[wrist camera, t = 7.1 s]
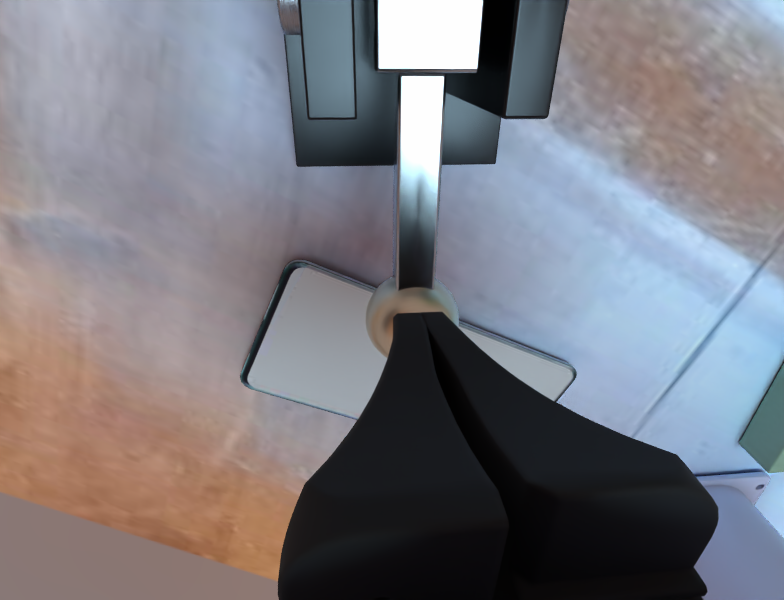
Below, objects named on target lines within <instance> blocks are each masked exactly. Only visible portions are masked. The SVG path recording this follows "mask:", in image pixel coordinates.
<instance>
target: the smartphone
mask: <svg viewBox="0 0 784 600" xmlns="http://www.w3.org/2000/svg"><path fill="white" fill-rule="evenodd" d="M376 289H377V288H375V287H372V286H370V285H367V284H365V283H362V282H360V281H357V280H354V279H352V278H349V277H347V276H344V275H342V274H339V273H337V272H334V271H331V270H329V269H326V268H324V267H321V266H319V265H316V264H314V263H311V262H309V261H305V260H294V261H292V262H290V263H289V264H287V265H286V267H285V268H284V270H283V273H282V275H281V278H280V280H279V283H278V285H277V287H276V290H275V292H274V295H273V297H272V299H271V301H270V304H269V307H268V309H267V311H266V314H265V316H264V319H263V321H262V324H261V326H260V328H259V331H258V333H257V335H256V338H255V340H254V343H253V345H252V348H251V350H250V352H249V355H248V357H247V360H246V362H245V365H244V367H243V369H242V372H241V375H240V379H241V382H242V383H243V384H244V385H245V386H246V387H248V388H250V389H253V390H256V391H260V392H263V393H267V394H270V395H273V396H277V397H280V398H284V399H287V400H291V401H294V402H297V403H301V404H304V405H308V406H311V407H315V408H318V409H321V410H325V411H328V412H332V413H335V414H339V415H342V416H346V417H349V418H352V419H356V420H358V418H359V417H360V415H361V413H362V412H363V410H364V408H365V407H366V405H367V403H368V402H369V400H370V398H371V396H372V394H373V392H374V390H375V388H376V386H377V384H378V381H379V379H380V377H381V374H382V372H383V369H384V366H385V364H386V361H387V358H386V357H384V356H383V355H382V354H381V353H380V352H379V351H378V350H377V349H376V348H375V347H374V345H373V344H372V342H371V340H370V338H369V336H368V333H367V329H366V322H365V319H366V309H367V305H368V303H369V300H370V298H371V296H372V294H373V293H374V291H375V290H376ZM458 328H459V329H460V330H461V331H462V332H463V333H464V334H465V335H466V336H468V337H469V338H470V339H471V340H472V341H473V342H474V343H475V344H476V345H477V346H478V347H479V348H480V349H482V350H483V351H484V352H485V353H486V354H487V355H489V356H490V357H491V358H492V359H493V360H495V361H496V362H497V363H498V364H500V365H501V366H502V367H503V368H505V369H506V370H507V371H509V372H510V373H511V374H513V375H514V376H515V377H517V378H518V379H520V380H521V381H523V382H524V383H526V384H527V385H529V386H530V387H532V388H533V389H535V390H536V391H538V392H539V393H541V394H543V395H544V396H546V397H548V398H549V399H551V400H553V401H555V402H556V401H557V400H558V399H559V398H560V397H561V396H562V394H563V393H564V392H565V391H566V390H567V388H568V387H569V386H570V385H571V384H572V383H573V381H574V380H575V378H576V375H577V372H576V370H575V369H574V368H573V366H572V365H570V364H569V363H566V362H564V361H561V360H559V359H556V358H554V357H551V356H549V355H546V354H543V353H541V352H538V351H536V350H533V349H531V348H528V347H526V346H523V345H520V344H518V343H515V342H513V341H510V340H508V339H505V338H503V337H500V336H497V335H495V334H492V333H490V332H487V331H485V330H482V329H480V328H477V327H474V326H472V325H469V324H467V323H464V322H462V321H459V326H458Z"/></svg>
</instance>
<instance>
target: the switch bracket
mask: <svg viewBox="0 0 784 600" xmlns="http://www.w3.org/2000/svg"><path fill="white" fill-rule="evenodd" d="M568 4H569V0H486V6H485V17H484V28H483V39H482V51H481V62H480V69H479V71H478V72H477V73H445V74H446V76H447V81H446V98H445V115H444V133H443V150H442V165H461V164H495V163H496V155H497V147H498V139H499V131H500V122H501V118H504V119H545V118H547V117H548V115H549V109H550V103H551V97H552V91H553V85H554V79H555V74H556V68H557V62H558V56H559V50H560V44H561V38H562V33H563V27H564V21H565V15H566V12H567V9H568ZM277 5H278V12H279V18H280V23H281V27H282V30H283V32H284V41H285V51H286V62H287V72H288V82H289V92H290V103H291V113H292V123H293V134H294V144H295V154H296V165H297V166H298V167H311V166H386V165H394V75H395V73H379V72H376V71H373V70H371V69H370V62H369V0H277Z"/></svg>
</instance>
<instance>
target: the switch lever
mask: <svg viewBox="0 0 784 600" xmlns="http://www.w3.org/2000/svg"><path fill="white" fill-rule="evenodd" d="M485 6H486V0H369V62H370V69H371V70H373V71H376V72H379V73H395V75H394V180H393V277H391V278H389V279H387V280H386V281H384V282H383V283H382V284H381V285H380V286H379V287H378V288H377V289H376V290H375V291H374V293H373V294H372V296H371V298H370V300H369V303H368V305H367V309H366V319H365V322H366V329H367V333H368V336H369V338H370V340H371V342H372V344H373V345H374V347H375V348H376V349H377V350H378V351H379V352H380V353H381V354H382V355H383V356H384V357H386V358H388V355H389V351H390V347H391V344H392V340H393V317H394V316H395V315H396V314H397V313H418V312H443V313H444V314H445V315H446V316H447V317H448V318H449V319H450V320H451V321H452V322H453V323H454V324H455V325H456V326H457V327H458V326H459V312H458V308H457V304H456V301H455V299H454V297H453V295H452V294H451V292H450V291H449V289H448V288H447V287H446V286H445V285H444V284H443V283H441V282H440V281H439V280H437V279H435V271H436V254H437V237H438V219H439V202H440V185H441V167H442V150H443V133H444V115H445V98H446V81H447V76H446V74H445V73H477V72H478V71H479V69H480V62H481V51H482V39H483V28H484V17H485Z"/></svg>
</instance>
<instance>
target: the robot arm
mask: <svg viewBox="0 0 784 600" xmlns="http://www.w3.org/2000/svg"><path fill="white" fill-rule="evenodd" d="M770 479H771V478H770V476H769V475H768V474H767V473H765V472H752V473H739V474H726V475H713V476H700V477H695V475H694V474H693V473H692V472H691V471H690V469H689V468H688V467H687V466H686V465H685V463H684V462H683V461H682V460H681V459H680V458H679V457H678V456H677V455H676V454H673V453H670V452H668V451H665V450H662V449H660V448H657V447H654V446H652V445H649V444H646V443H643V442H641V441H638V440H635V439H633V438H630V437H627V436H625V435H622V434H620V433H618V432H616V431H613V430H611V429H609V428H607V427H604V426H602V425H600V424H598V423H595V422H593V421H591V420H589V419H587V418H585V417H583V416H581V415H579V414H577V413H575V412H573V411H571V410H569V409H568V408H566V407H564V406H562V405H560V404H558V403H557V402H555V401H553V400H551V399H549V398H548V397H546V396H544V395H543V394H541V393H539V392H538V391H536V390H535V389H533V388H532V387H530V386H529V385H527V384H526V383H524V382H523V381H521V380H520V379H518V378H517V377H515V376H514V375H513V374H511V373H510V372H509V371H507V370H506V369H505V368H503V367H502V366H501V365H500V364H498V363H497V362H496V361H495V360H493V359H492V358H491V357H490V356H489V355H487V354H486V353H485V352H484V351H483V350H482V349H480V348H479V347H478V346H477V345H476V344H475V343H474V342H473V341H472V340H471V339H470V338H469V337H468V336H466V335H465V334H464V333H463V332H462V331H461V330H460V329H459V328H458V327H457V326H456V325H455V324H454V323H453V322H452V321H451V320H450V319H449V318H448V317H447V316H446V315H445V314H444V313H443V312H418V313H397V314H396V315H395V316H394V317H393V340H392V344H391V347H390V351H389V355H388V358H387V361H386V364H385V366H384V369H383V372H382V374H381V377H380V379H379V381H378V384H377V386H376V388H375V390H374V392H373V394H372V396H371V398H370V400H369V402H368V403H367V405H366V407H365V408H364V410H363V412H362V413H361V415H360V417H359V418H358V420H357V422H356V423H355V425H354V426H353V428H352V429H351V430H350V432H349V433H348V434H347V436H346V437H345V438H344V440H343V441H342V442H341V444H340V445H339V446H338V447H337V449H336V450H335V451H334V453H333V454H332V455H331V456H330V457H329V459H328V460H327V461H326V462H325V463H324V464H323V465H322V466H321V467H320V468H319V469H318V470H317V471H316V473H315V474H314V475H313V476H312V477H311V478H310V479H309V480H308V481H307V482H306V483H305V485H304V487H303V489H302V492H301V494H300V497H299V499H298V501H297V504H296V506H295V509H294V512H293V514H292V517H291V520H290V523H289V526H288V529H287V532H286V536H285V540H284V544H283V548H282V553H281V561H280V570H279V578H278V597H279V600H784V538H783V537H782V536H781V535H780V534H779V533H778V531H777V530H776V529H775V528H774V527H773V526H772V525H771V524H770V523H769V521H768V520H767V519H766V518H765V517H764V516H763V515H762V514H761V512H760V511H759V510H758V509H757V508H756V507H755V506H754V505H755V503H756V502H757V500H758V499H759V497H760V496H761V494H762V493H763V491H764V489H765V488H766V486H767V485H768V483H769V482H770Z"/></svg>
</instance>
